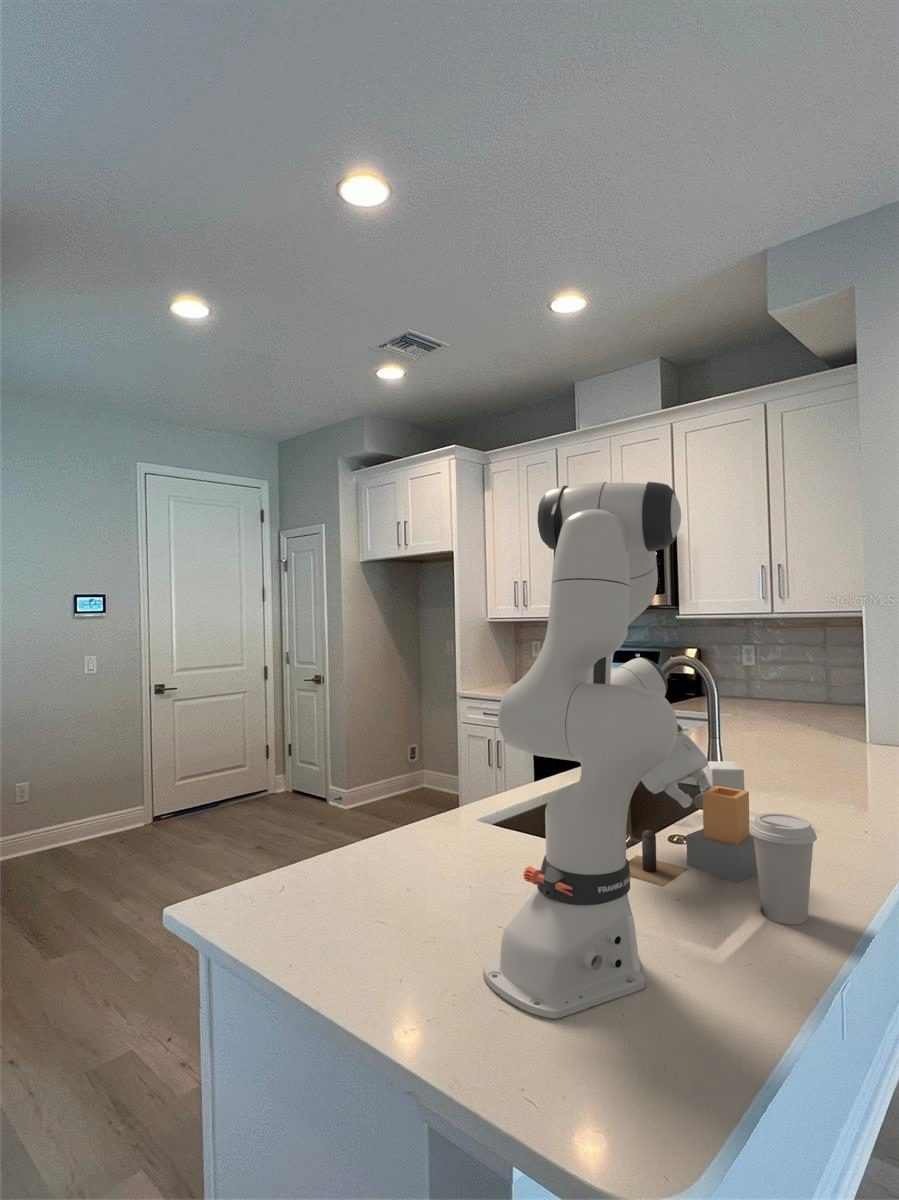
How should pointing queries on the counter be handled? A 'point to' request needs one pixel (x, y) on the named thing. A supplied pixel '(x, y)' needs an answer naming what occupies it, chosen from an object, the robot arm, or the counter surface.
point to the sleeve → (726, 814)
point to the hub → (722, 856)
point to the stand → (652, 863)
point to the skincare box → (725, 774)
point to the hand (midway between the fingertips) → (700, 799)
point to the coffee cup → (783, 865)
